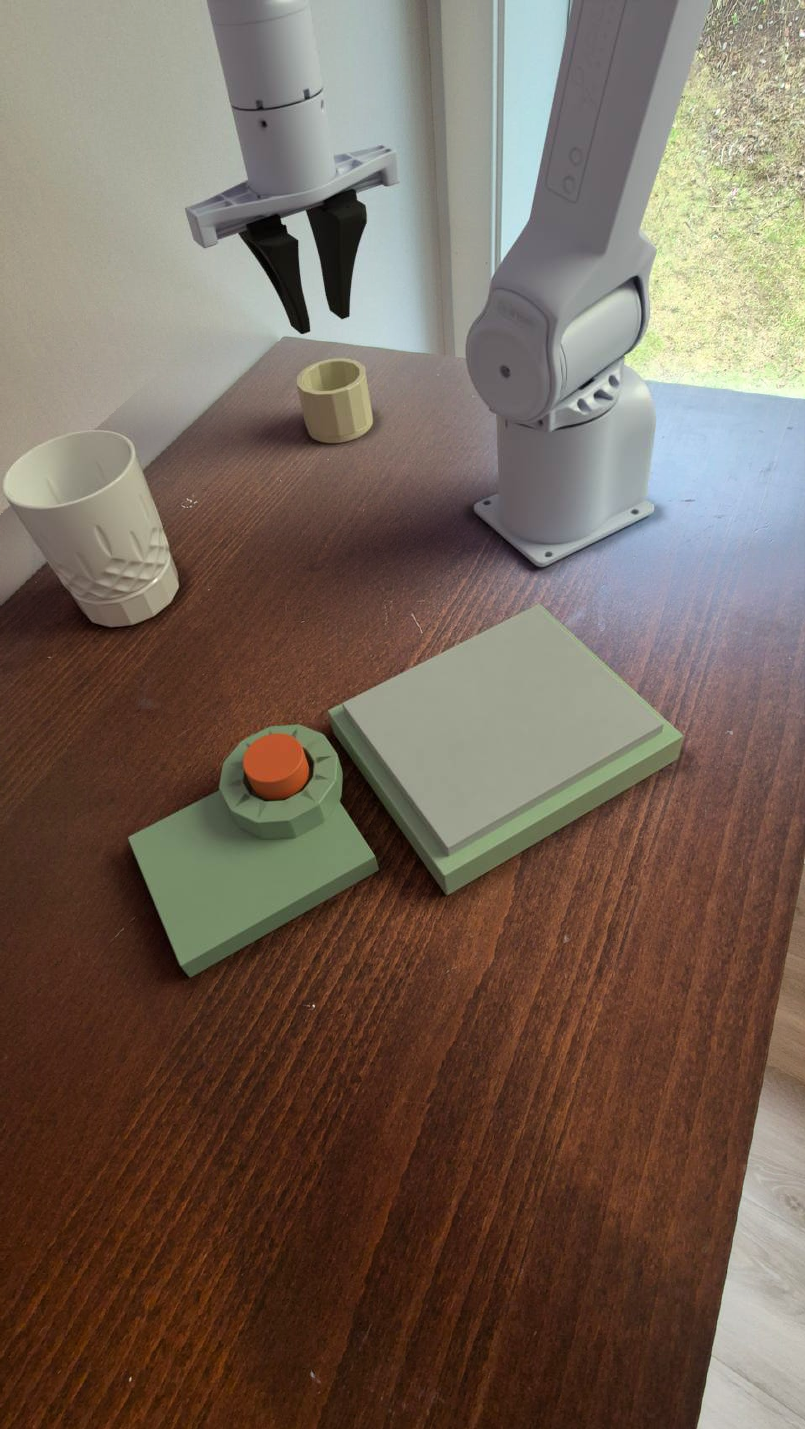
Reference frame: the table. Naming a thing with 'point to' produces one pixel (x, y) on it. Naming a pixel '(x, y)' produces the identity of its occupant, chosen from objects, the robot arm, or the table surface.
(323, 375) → the beige cup
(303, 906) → the block
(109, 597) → the white cup
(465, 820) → the scale
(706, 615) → the table surface
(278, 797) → the button
